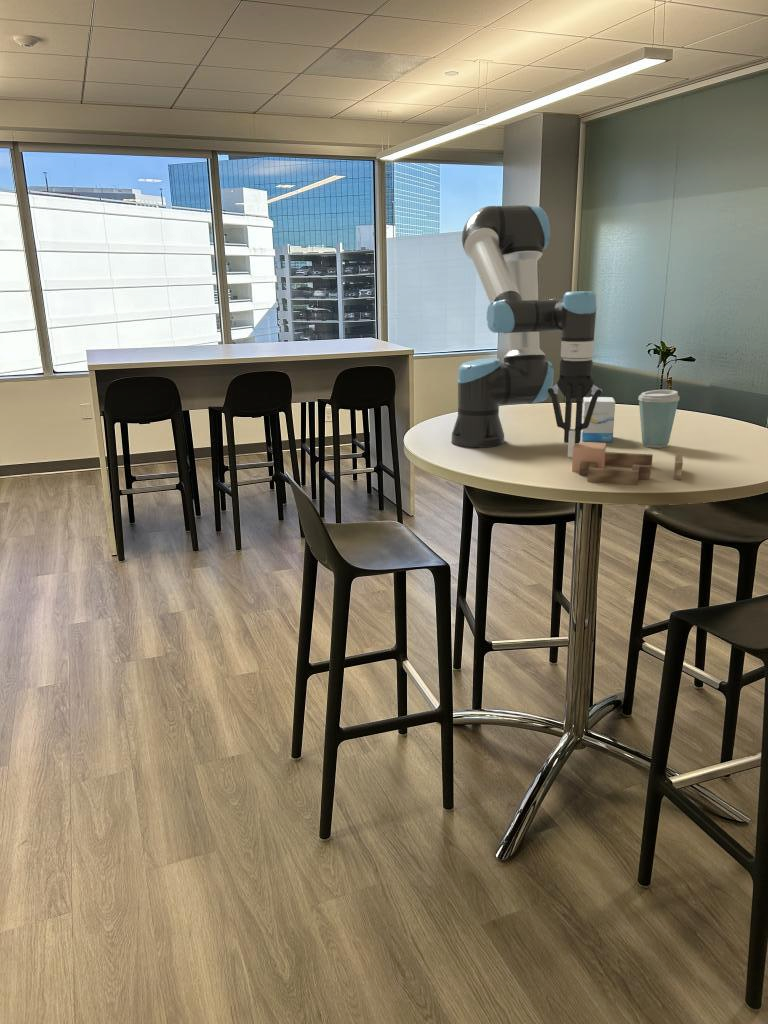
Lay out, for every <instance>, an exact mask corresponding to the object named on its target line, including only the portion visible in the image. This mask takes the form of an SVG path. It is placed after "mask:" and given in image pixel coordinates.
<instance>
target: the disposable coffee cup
mask: <svg viewBox="0 0 768 1024" xmlns="http://www.w3.org/2000/svg"><path fill="white" fill-rule="evenodd" d="M680 399H681V398H680V395H679V391H677V390H672V389H654V390H653V389H652V390H648V391H643V392H642V393H640V395H638V399H637V400H638V405H639V415H640V416H639V418H640V419H639V420H640V428H641V441H642V444H643V447H648V448H658V449H660V448H667V447H668V444H669V443H670V439H671V435H672V430H673V425H674V421H675V417H676V413H677V409H678V404H679V401H680Z"/></svg>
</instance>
